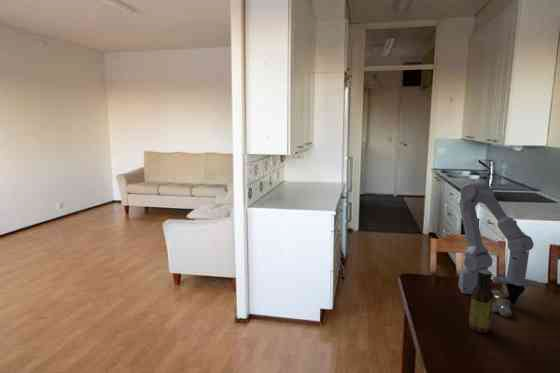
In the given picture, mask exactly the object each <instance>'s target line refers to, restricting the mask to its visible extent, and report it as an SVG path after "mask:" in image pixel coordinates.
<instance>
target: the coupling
mask: <svg viewBox="0 0 560 373" xmlns="http://www.w3.org/2000/svg"><path fill="white" fill-rule="evenodd" d="M493 296H494V297H495V299H496V300H504V301H507V302H508V304H509V308H510V307H511V302H510V297H509V295H502V294H501V295H494V294H493Z"/></svg>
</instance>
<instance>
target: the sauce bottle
mask: <svg viewBox="0 0 560 373" xmlns="http://www.w3.org/2000/svg"><path fill="white" fill-rule="evenodd" d="M492 278H493V273H492V272H491V271H489V270H478V281H477V285H476V286H475V287H474V288H473V291H472V294H471V299H470V301H471V302H470V308H469V309H470V310H469V320H468V322H469V323H468V326H469V328H470V329H471V330H473V331H474V332H477V333H482V334H486V333H488V332H489V331H490V328H491V323H492V322H491V321H492V315H493V314H492V313H493V312H492V306H493V293H492V290H493V288H492V286H491V279H492Z"/></svg>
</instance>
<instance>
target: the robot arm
mask: <svg viewBox="0 0 560 373" xmlns="http://www.w3.org/2000/svg"><path fill="white" fill-rule="evenodd" d="M459 193H460V198H459V209H460V210H459V211H460V214H461V219H462V224H463V230H464V233H465V240H466V245H467V247H466V250H465V251H464V254H463V255H464V259H463V264H464V267H465V268H464V267H463V268H460V269H459V270H460V271H459V276H458V284H457V285H458V288H459V290H460V291H461V293H462V294H467V295H468V294H469V295H472V291H473V288H474V287H475V286H476V285H477V281H478V270H487V271H489V268H490V267H491V266H492V264H493V258H492V256H491V255H490V253H489V250H488V248H487V247H485V246H484V244H483V239H482V234H481V230H480V229H481V228H480V225H479V224H480V223H479V219H478V216H477V215H478V214H477V210H476V209H477V208H476V206H477V205H478V204H483V205H485V207H486V208H487V209H488V210H489V211H490V213H491V214H492V215H493V216H494V218H495V219H496V220H497V227H498V229H499V230H500V232H501V233H502V235H503V236H504V238H505V239H506V240H507V247H508V250H509V256H508V257H509V258H508V266H507V273H506V275H505V276H493V275H492V282H493V284H504V285H505V288H506V290H507V292H508V296H509V297H510V302H511V303H510V305H511V304H512V305H516V304H517V300H518V299H519V298H520V296H521V295H522V294H523V293H524V292H525V290H526V289H525V287H532V288H535V289H538V288H539V285H540V283H539V281H537V280H533V279H527V277H526V275H527V270H528V263H529V254H530V251H531V250H532V249H533V248H534V240H533V239H532V237H531V236H529V235H528V234H525V232H523V231H522V229H521V228H520V227H519V225H518V222H517V220H516V219H515V220H514V218H513V217H509V216H507V214H506V212H505V211H504V210H503V207H502V206H501V204H500V203H499V201H498V200H497V198H496V197H495V194H494V189H493V188H491V187H490V184H489V183H488V182H487V181H480V182H471V183H470V182H468V183H465V184H463V186H462V187H461V188H460V189H459Z"/></svg>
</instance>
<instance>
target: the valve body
mask: <svg viewBox="0 0 560 373" xmlns="http://www.w3.org/2000/svg"><path fill="white" fill-rule="evenodd" d="M492 293H493V294H494V295H502V292H501V291H500V290H496V289H492ZM492 313H499V314H500V315H501V317H502V318H509V317H511V316H512V313H513V311H512V310H511V308H510V307H509V304H508V302H507V301H504V300H496V299H495V297H494V296H493V306H492Z"/></svg>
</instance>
